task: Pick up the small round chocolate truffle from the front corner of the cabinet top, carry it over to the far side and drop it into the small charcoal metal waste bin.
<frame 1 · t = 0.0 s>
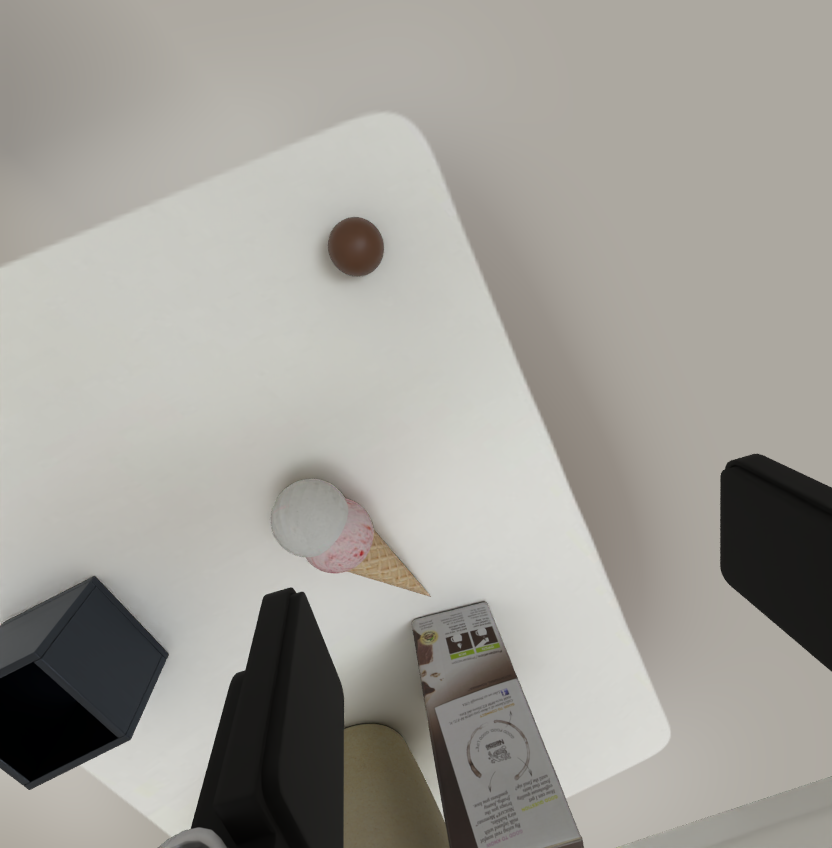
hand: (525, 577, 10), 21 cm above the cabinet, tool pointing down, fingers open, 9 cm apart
waste bin: (89, 638, 33), on the cabinet
truffle: (356, 247, 25), point 1 cm above the cabinet
ice cream cone: (367, 529, 33), on the cabinet
plant pot: (363, 752, 40), on the cabinet
coffee box: (456, 651, 38), on the cabinet
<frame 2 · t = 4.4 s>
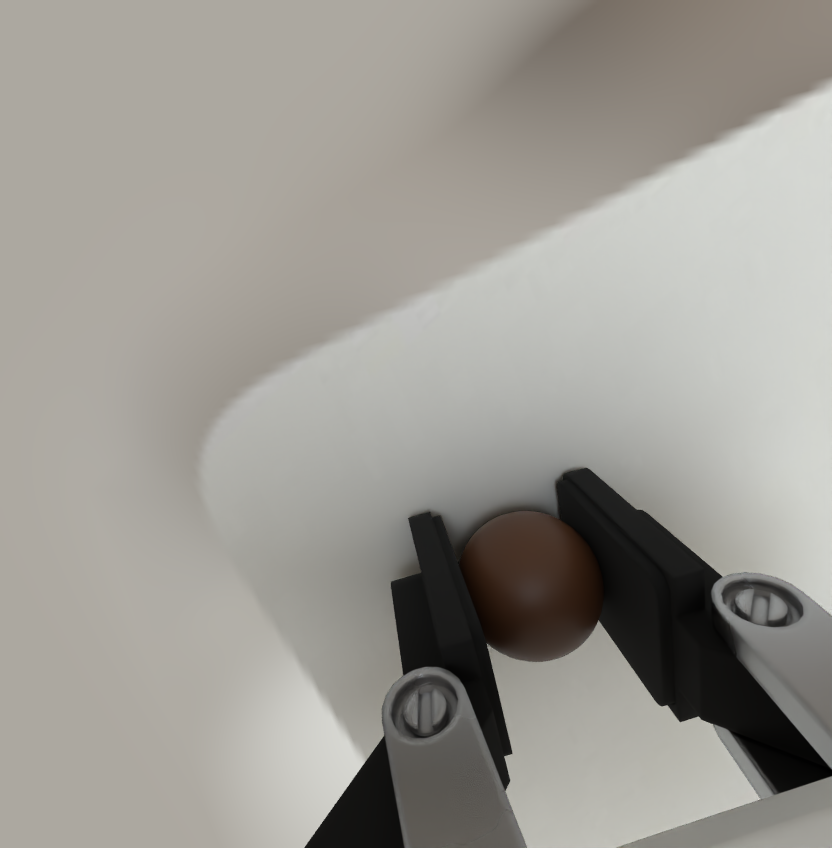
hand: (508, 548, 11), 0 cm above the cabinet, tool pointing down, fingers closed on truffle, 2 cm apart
truffle: (527, 582, 10), point 1 cm above the cabinet, touching gripper
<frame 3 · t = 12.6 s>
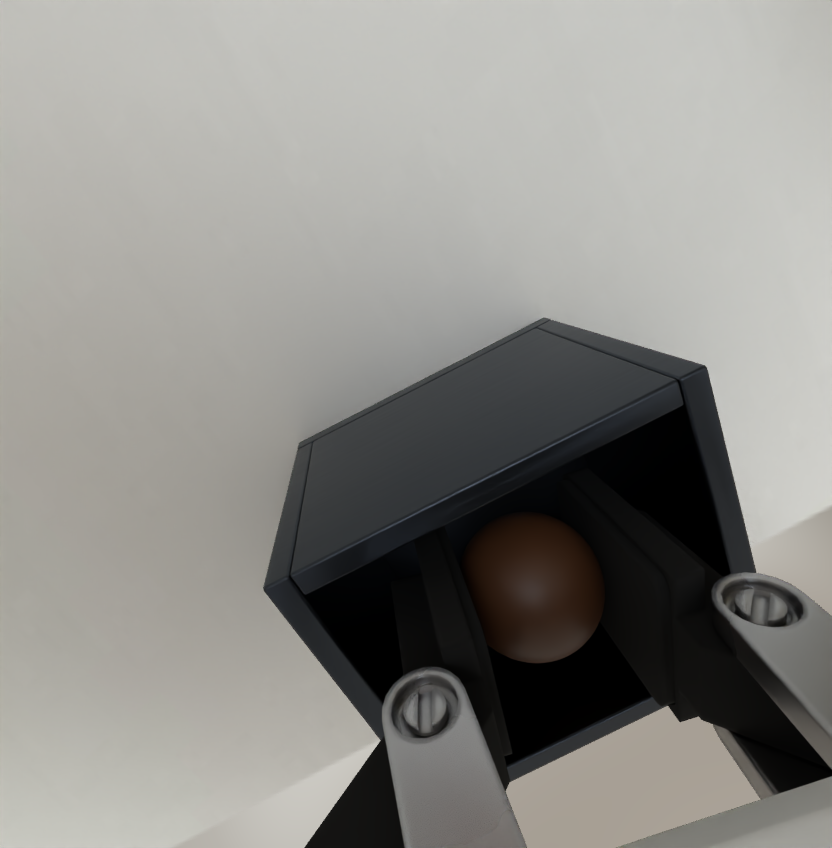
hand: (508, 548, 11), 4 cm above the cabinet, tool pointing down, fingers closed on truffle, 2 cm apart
waste bin: (468, 475, 15), on the cabinet
truffle: (528, 583, 10), point 5 cm above the cabinet, touching gripper
when the fingers open (7 cm above the cabinet, at t = 21.3 s): truffle drops 6 cm and tips over, resting on waste bin.
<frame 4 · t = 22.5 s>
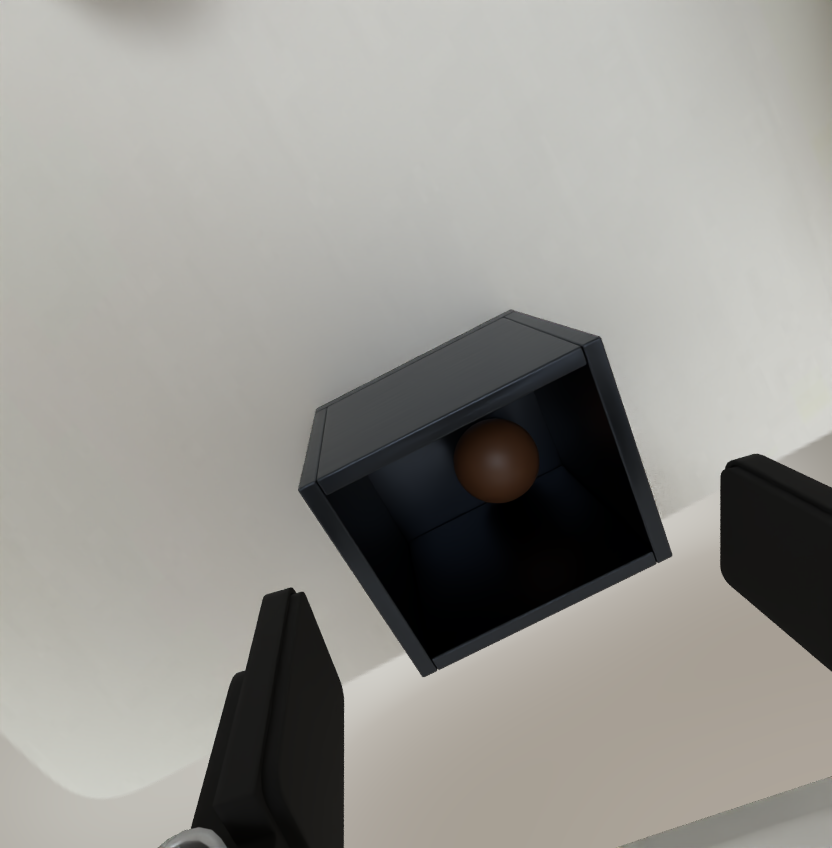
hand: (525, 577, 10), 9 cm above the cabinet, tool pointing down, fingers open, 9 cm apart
waste bin: (451, 438, 18), on the cabinet
truffle: (495, 460, 17), point 2 cm above the cabinet, tilted 48°, touching waste bin
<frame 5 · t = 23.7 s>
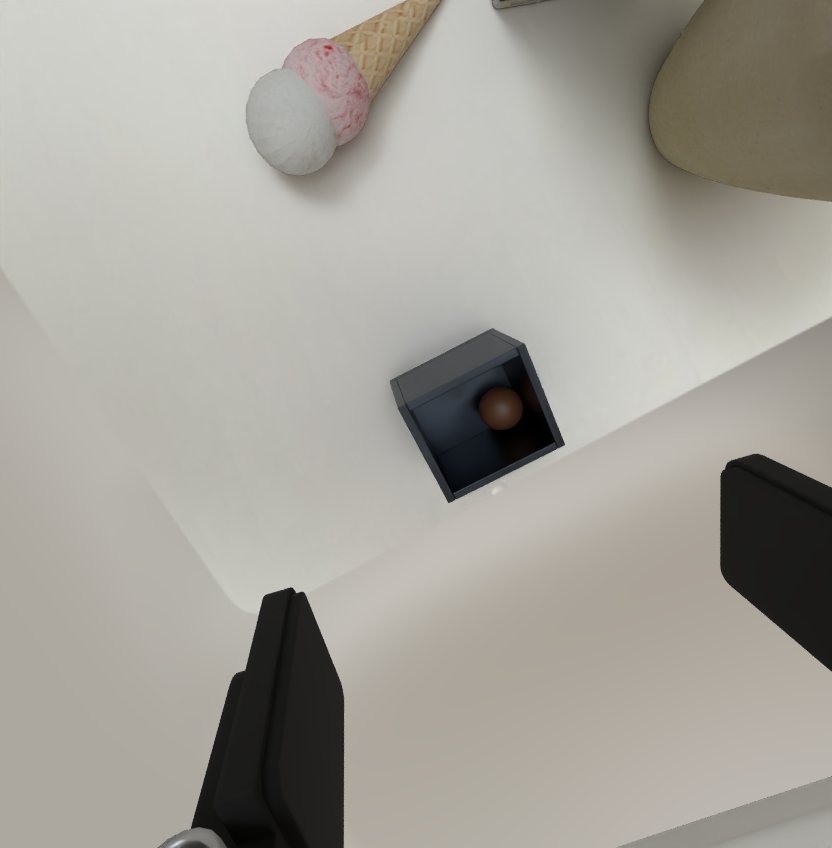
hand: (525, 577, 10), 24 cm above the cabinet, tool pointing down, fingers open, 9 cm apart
waste bin: (460, 397, 34), on the cabinet
truffle: (500, 408, 32), point 2 cm above the cabinet, tilted 93°, touching waste bin
ice cream cone: (349, 70, 27), on the cabinet
plant pot: (703, 105, 30), on the cabinet
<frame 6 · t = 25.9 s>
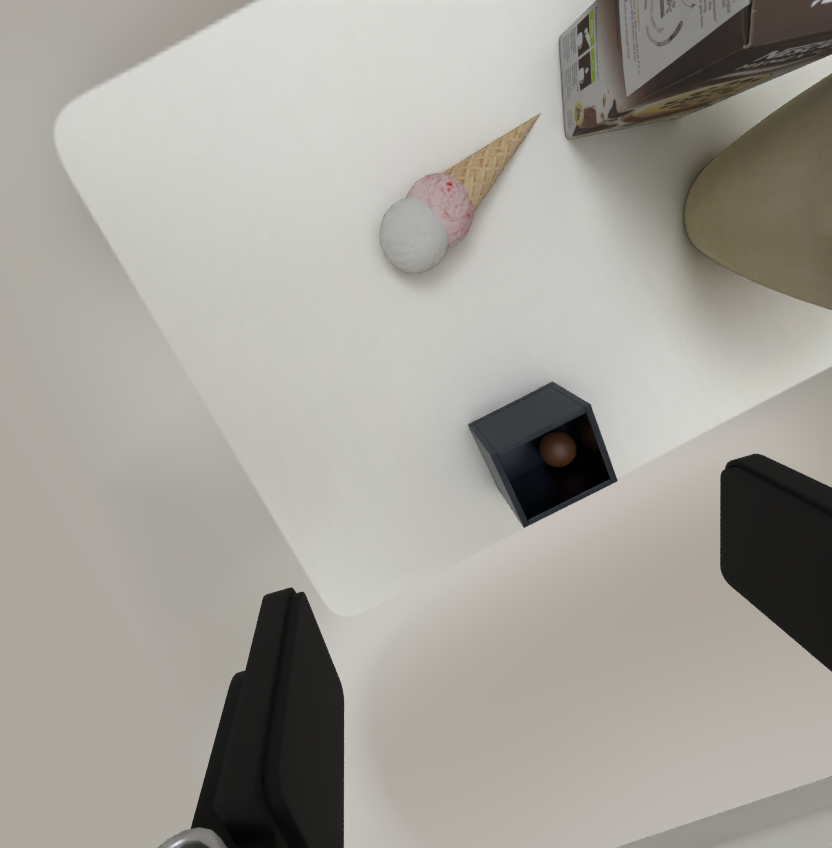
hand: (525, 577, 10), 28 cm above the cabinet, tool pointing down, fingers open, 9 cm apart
waste bin: (524, 437, 41), on the cabinet
truffle: (557, 449, 39), point 2 cm above the cabinet, tilted 85°, touching waste bin
ice cream cone: (451, 185, 33), on the cabinet
plant pot: (727, 206, 37), on the cabinet
coffee box: (621, 80, 33), on the cabinet
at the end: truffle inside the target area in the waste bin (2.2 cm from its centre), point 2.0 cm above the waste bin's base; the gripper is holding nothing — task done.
